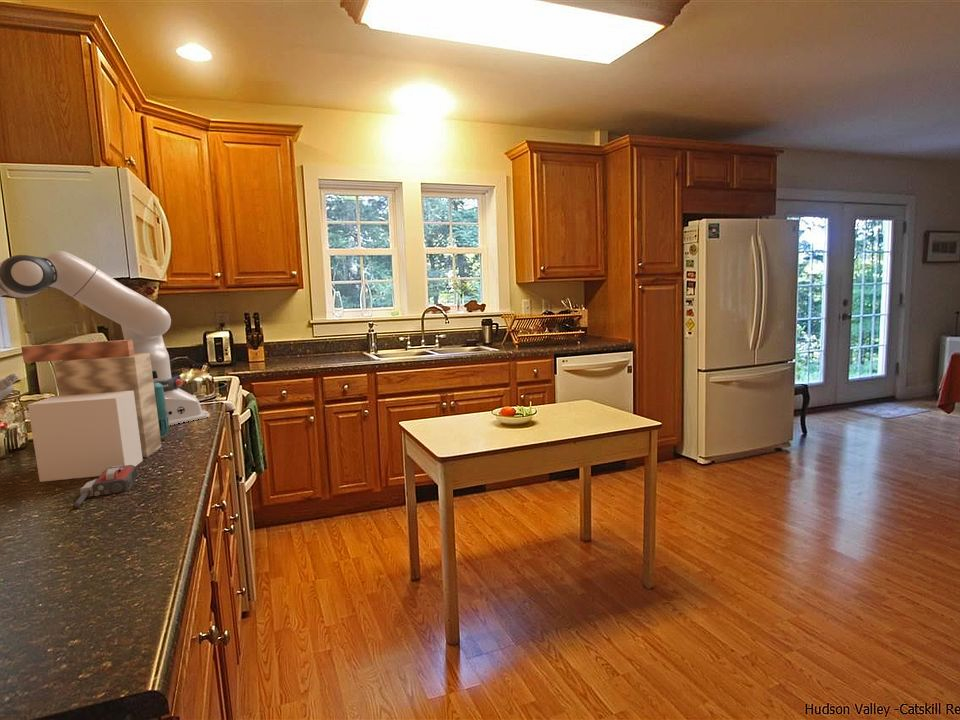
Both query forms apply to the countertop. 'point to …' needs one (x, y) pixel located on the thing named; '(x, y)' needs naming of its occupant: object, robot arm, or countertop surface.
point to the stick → (77, 351)
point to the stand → (116, 388)
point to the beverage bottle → (161, 406)
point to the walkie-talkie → (109, 482)
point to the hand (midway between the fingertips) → (4, 379)
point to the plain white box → (84, 434)
